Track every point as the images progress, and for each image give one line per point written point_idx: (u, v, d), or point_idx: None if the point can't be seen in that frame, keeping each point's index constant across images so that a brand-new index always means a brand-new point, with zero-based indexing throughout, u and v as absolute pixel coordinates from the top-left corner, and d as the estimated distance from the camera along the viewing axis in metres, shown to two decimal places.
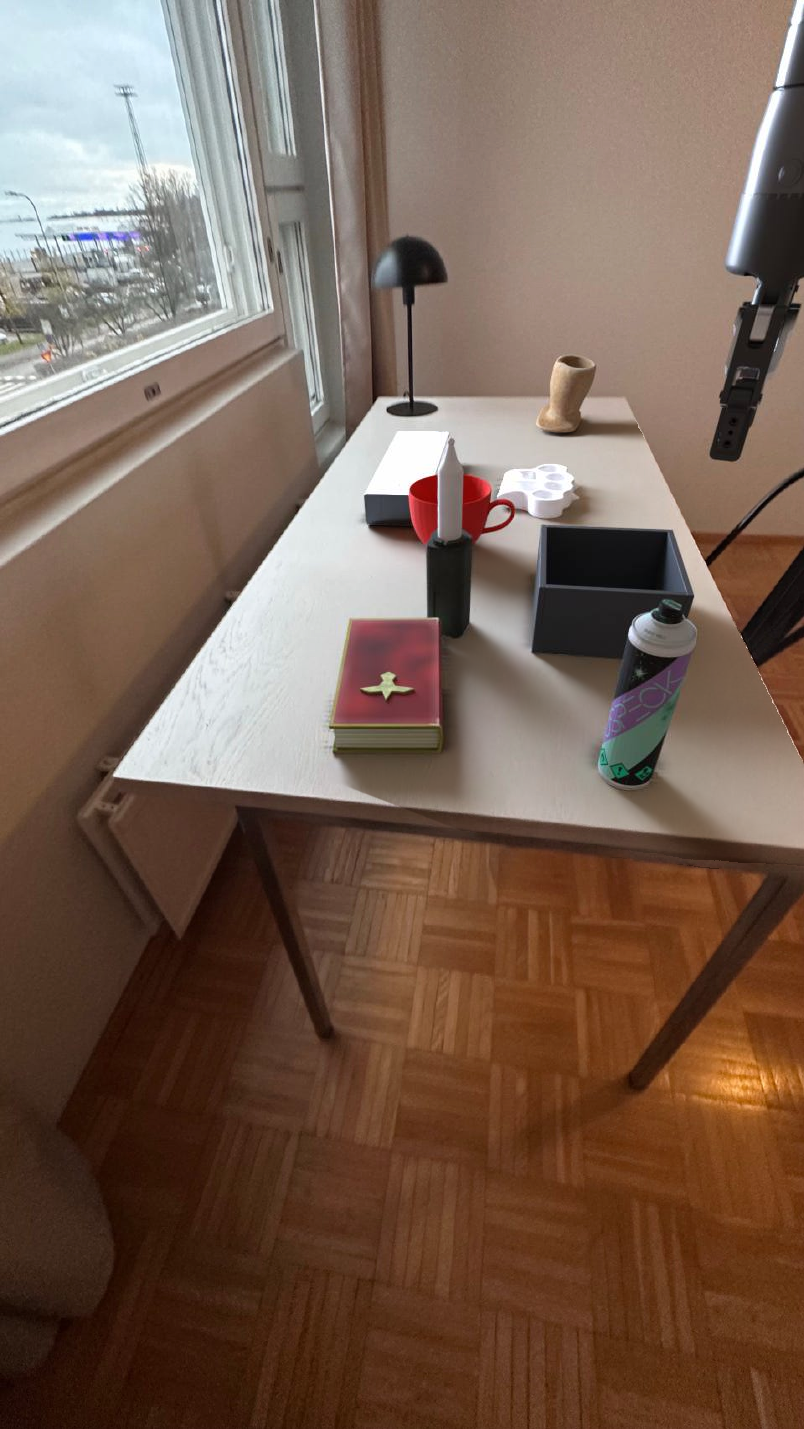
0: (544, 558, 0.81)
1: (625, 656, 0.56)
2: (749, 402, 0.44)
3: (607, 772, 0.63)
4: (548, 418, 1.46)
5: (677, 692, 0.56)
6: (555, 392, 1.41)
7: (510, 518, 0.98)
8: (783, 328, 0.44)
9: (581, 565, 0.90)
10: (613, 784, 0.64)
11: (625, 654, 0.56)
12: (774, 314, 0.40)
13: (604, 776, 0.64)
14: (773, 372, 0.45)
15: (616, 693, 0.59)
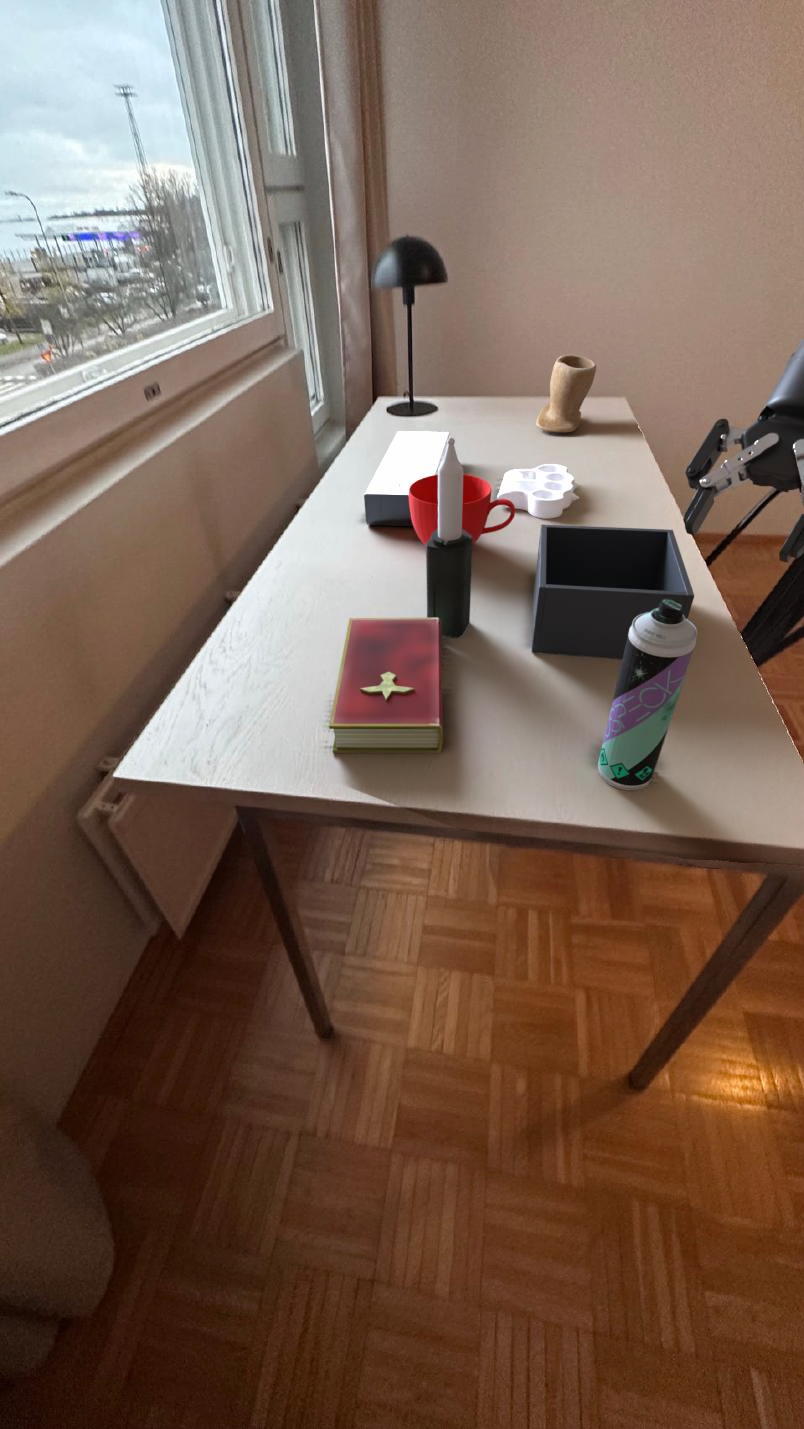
0: (544, 558, 0.81)
1: (625, 656, 0.56)
2: None
3: (607, 772, 0.63)
4: (548, 418, 1.46)
5: (677, 692, 0.56)
6: (555, 392, 1.41)
7: (510, 518, 0.98)
8: None
9: (581, 565, 0.90)
10: (613, 784, 0.64)
11: (625, 654, 0.56)
12: None
13: (604, 776, 0.64)
14: None
15: (616, 693, 0.59)
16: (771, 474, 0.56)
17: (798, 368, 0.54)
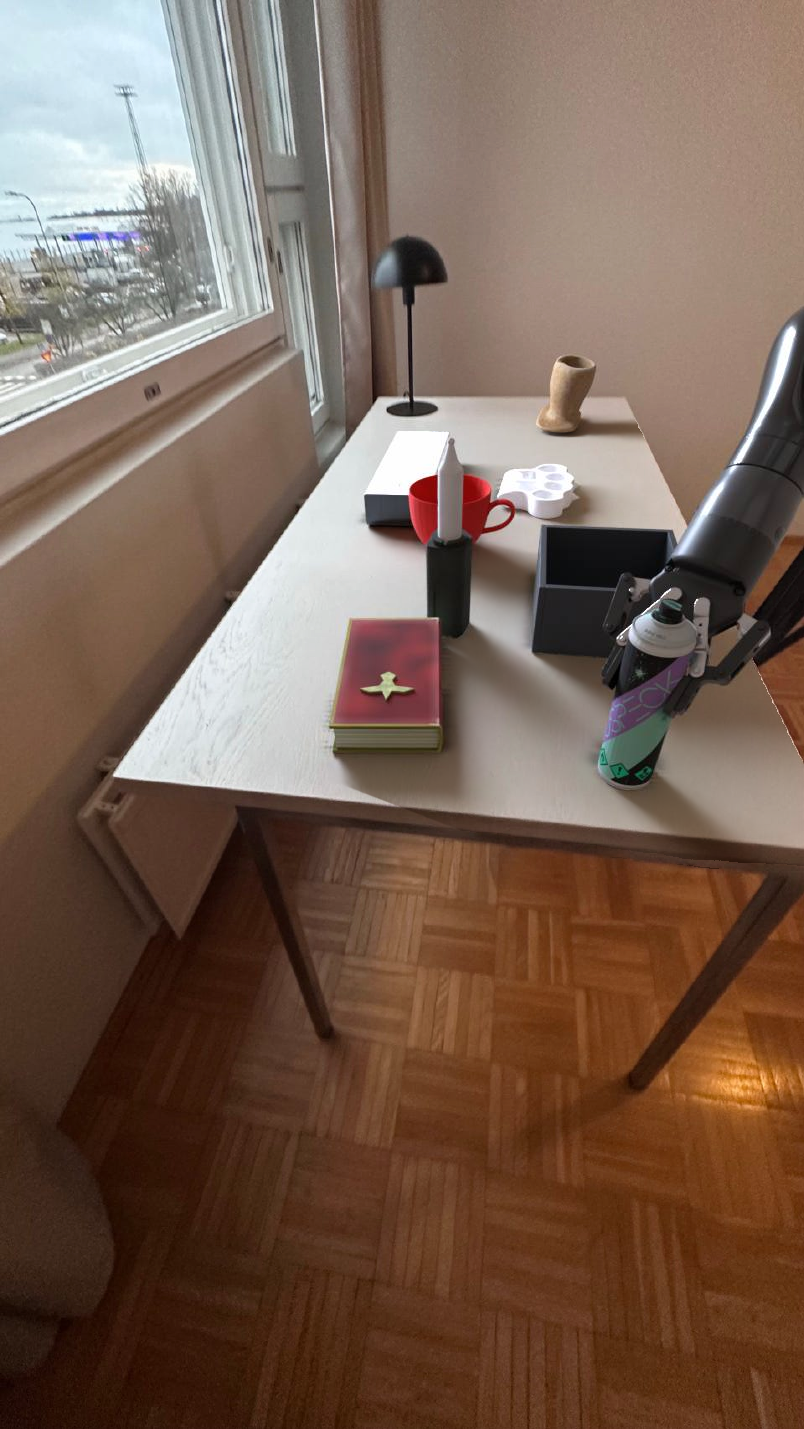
0: (544, 558, 0.81)
1: (625, 656, 0.56)
2: (727, 682, 0.54)
3: (607, 772, 0.63)
4: (548, 418, 1.46)
5: None
6: (555, 392, 1.41)
7: (510, 518, 0.98)
8: None
9: (581, 565, 0.90)
10: (613, 784, 0.64)
11: (625, 654, 0.56)
12: (769, 635, 0.53)
13: (604, 776, 0.64)
14: None
15: (616, 693, 0.59)
16: None
17: (699, 527, 0.54)
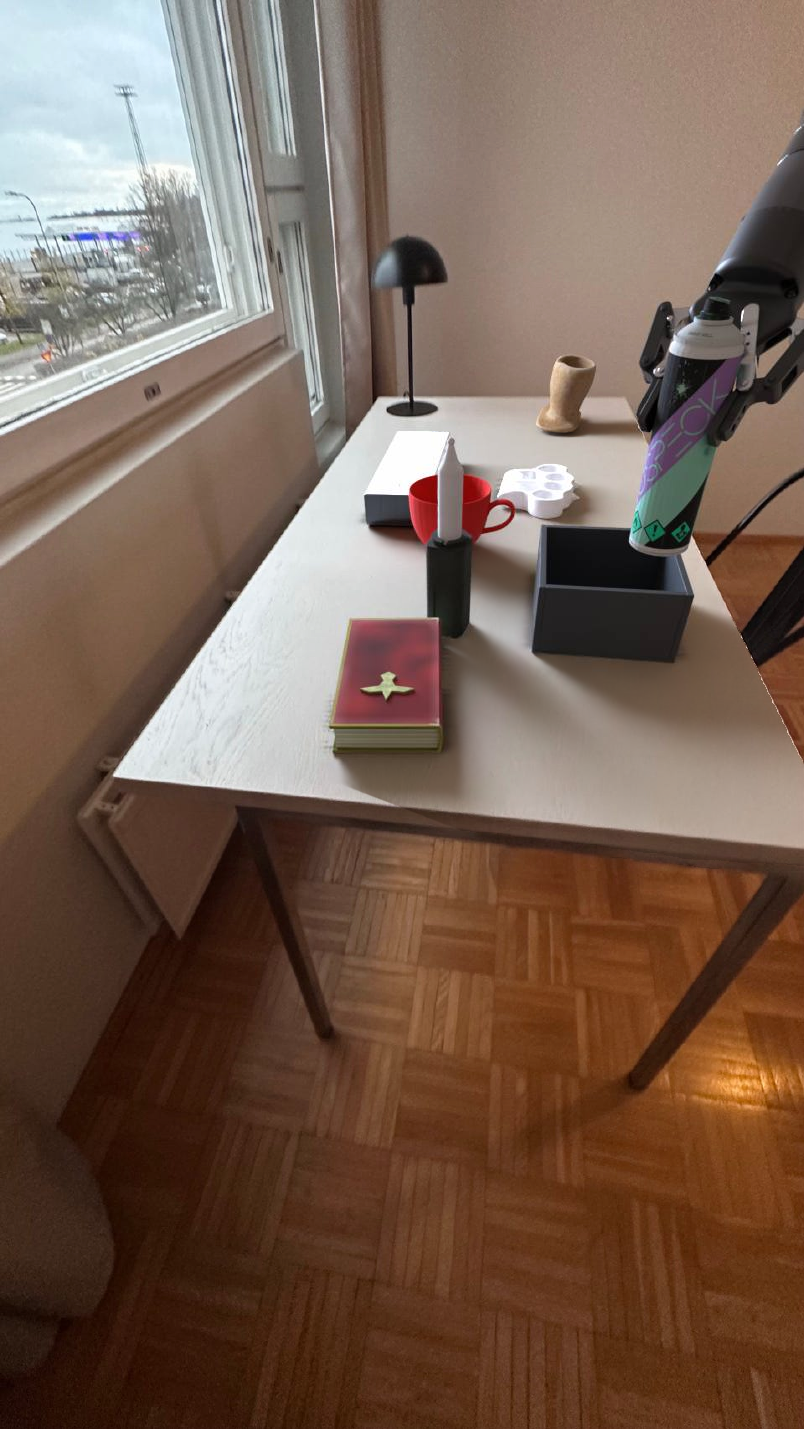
0: (544, 558, 0.81)
1: (665, 377, 0.51)
2: (777, 397, 0.50)
3: (641, 537, 0.59)
4: (548, 418, 1.46)
5: None
6: (555, 392, 1.41)
7: (510, 518, 0.98)
8: None
9: (581, 565, 0.90)
10: (647, 551, 0.59)
11: (665, 375, 0.51)
12: None
13: (637, 544, 0.60)
14: None
15: (653, 431, 0.54)
16: None
17: (747, 226, 0.50)
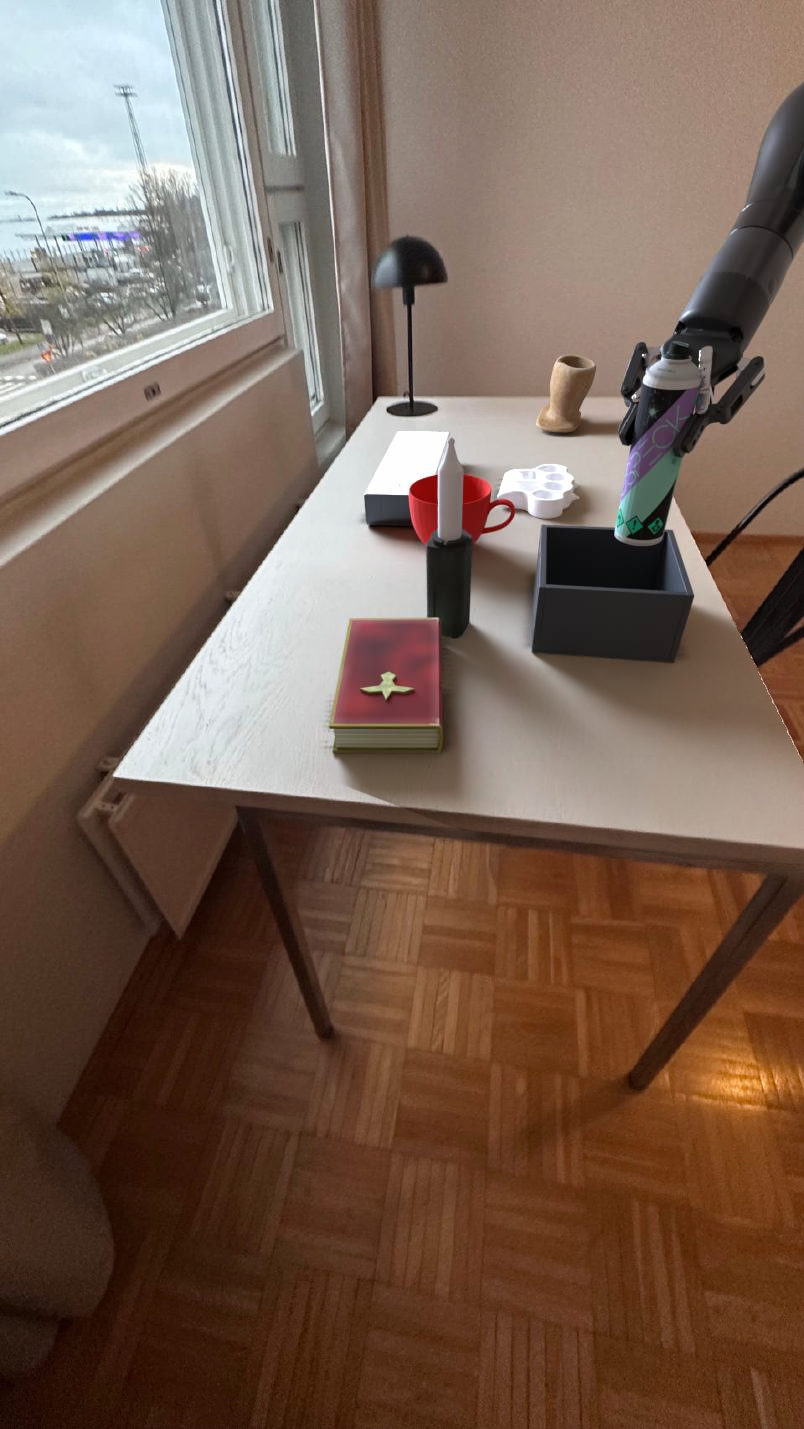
0: (544, 558, 0.81)
1: (640, 402, 0.65)
2: (728, 419, 0.63)
3: (623, 530, 0.72)
4: (548, 418, 1.46)
5: None
6: (555, 392, 1.41)
7: (510, 518, 0.98)
8: None
9: (581, 565, 0.90)
10: (629, 542, 0.73)
11: (640, 401, 0.65)
12: (764, 374, 0.62)
13: (620, 536, 0.73)
14: None
15: (632, 445, 0.68)
16: None
17: (703, 285, 0.63)
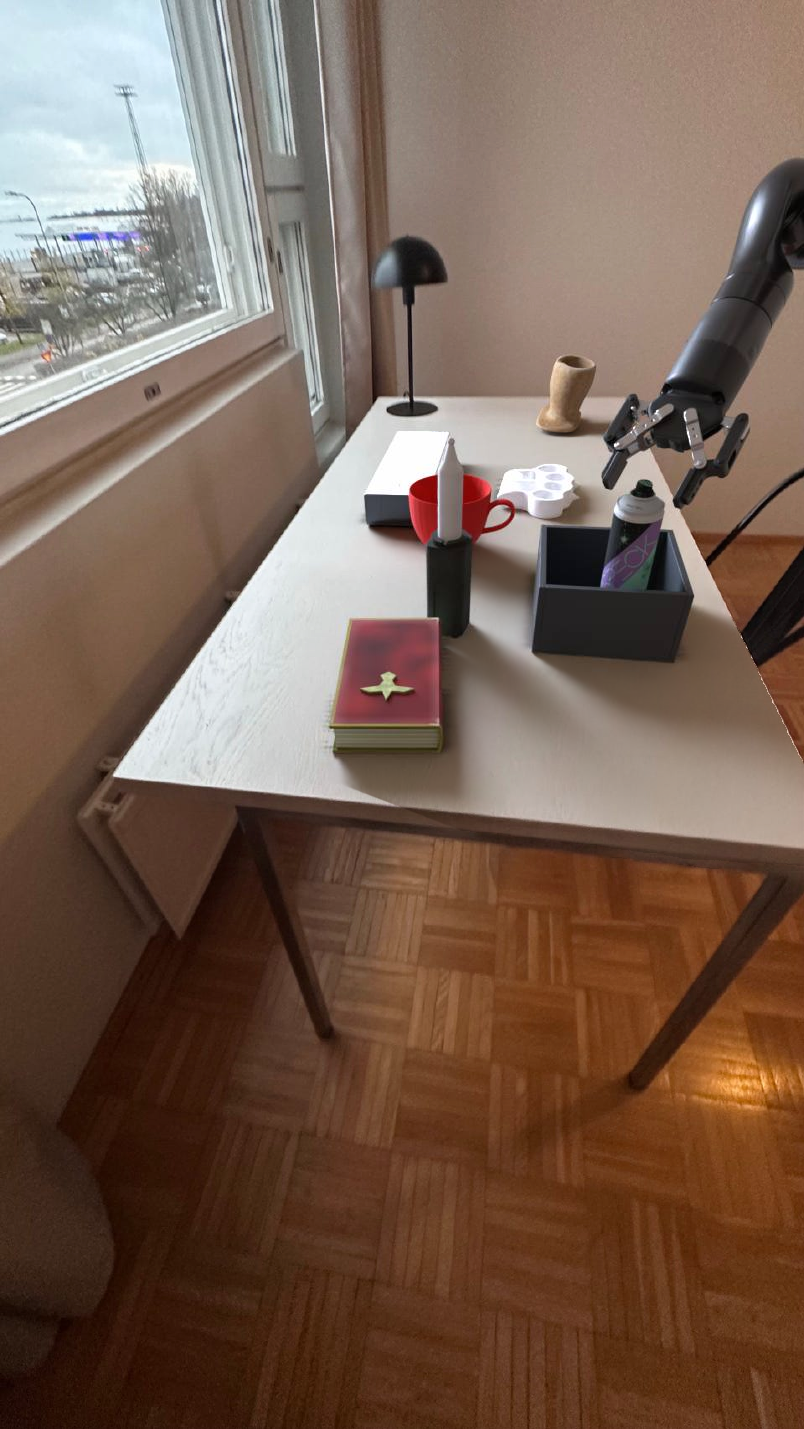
0: (544, 558, 0.81)
1: (612, 529, 0.74)
2: (725, 473, 0.66)
3: None
4: (548, 418, 1.46)
5: (652, 554, 0.74)
6: (555, 392, 1.41)
7: (510, 518, 0.98)
8: None
9: (581, 565, 0.90)
10: None
11: (612, 527, 0.74)
12: (749, 428, 0.66)
13: None
14: None
15: (606, 561, 0.77)
16: (668, 437, 0.69)
17: (688, 351, 0.67)
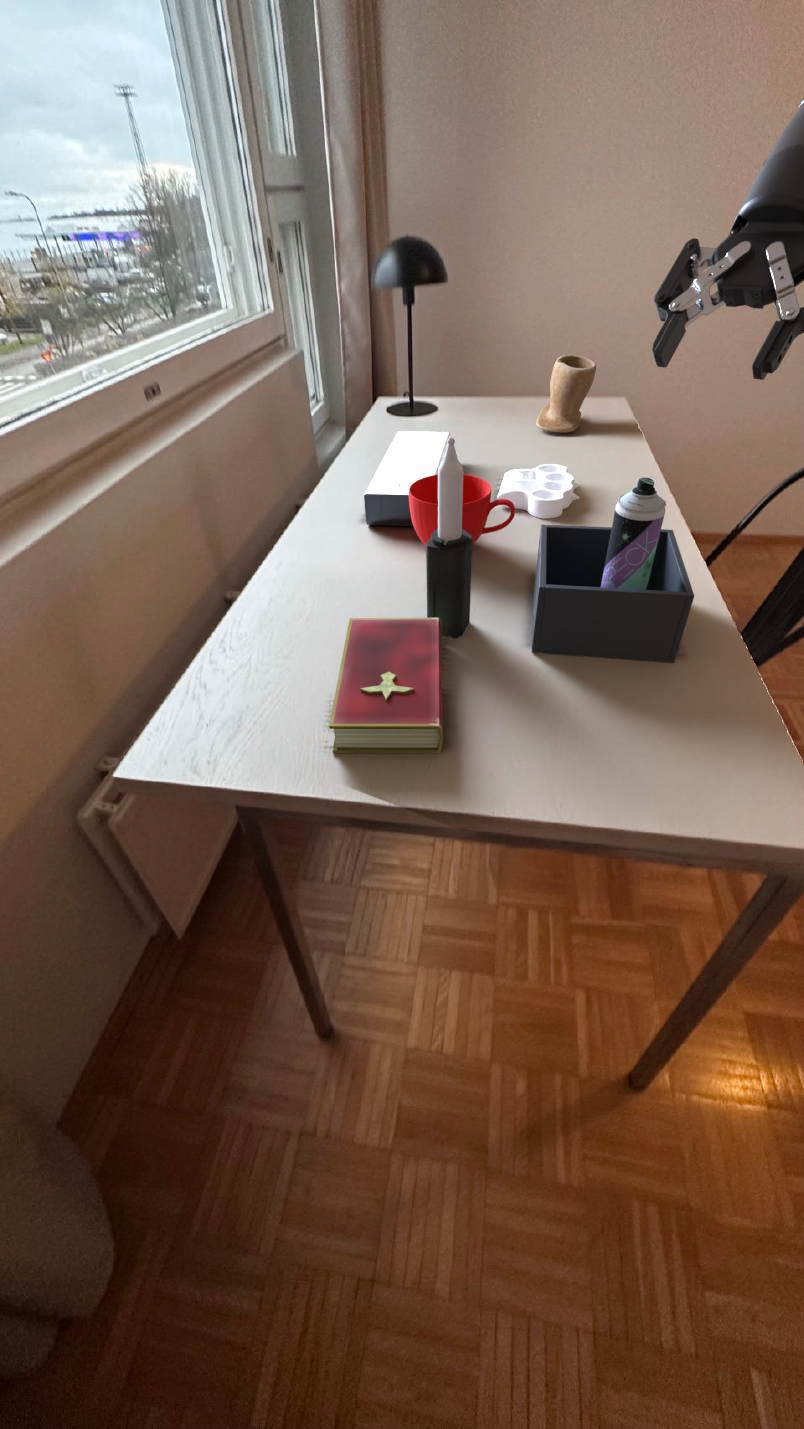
0: (544, 558, 0.81)
1: (613, 527, 0.74)
2: None
3: None
4: (548, 418, 1.46)
5: (653, 552, 0.74)
6: (555, 392, 1.41)
7: (510, 518, 0.98)
8: None
9: (581, 565, 0.90)
10: None
11: (613, 525, 0.74)
12: None
13: None
14: None
15: (607, 560, 0.77)
16: (743, 287, 0.52)
17: (770, 166, 0.50)
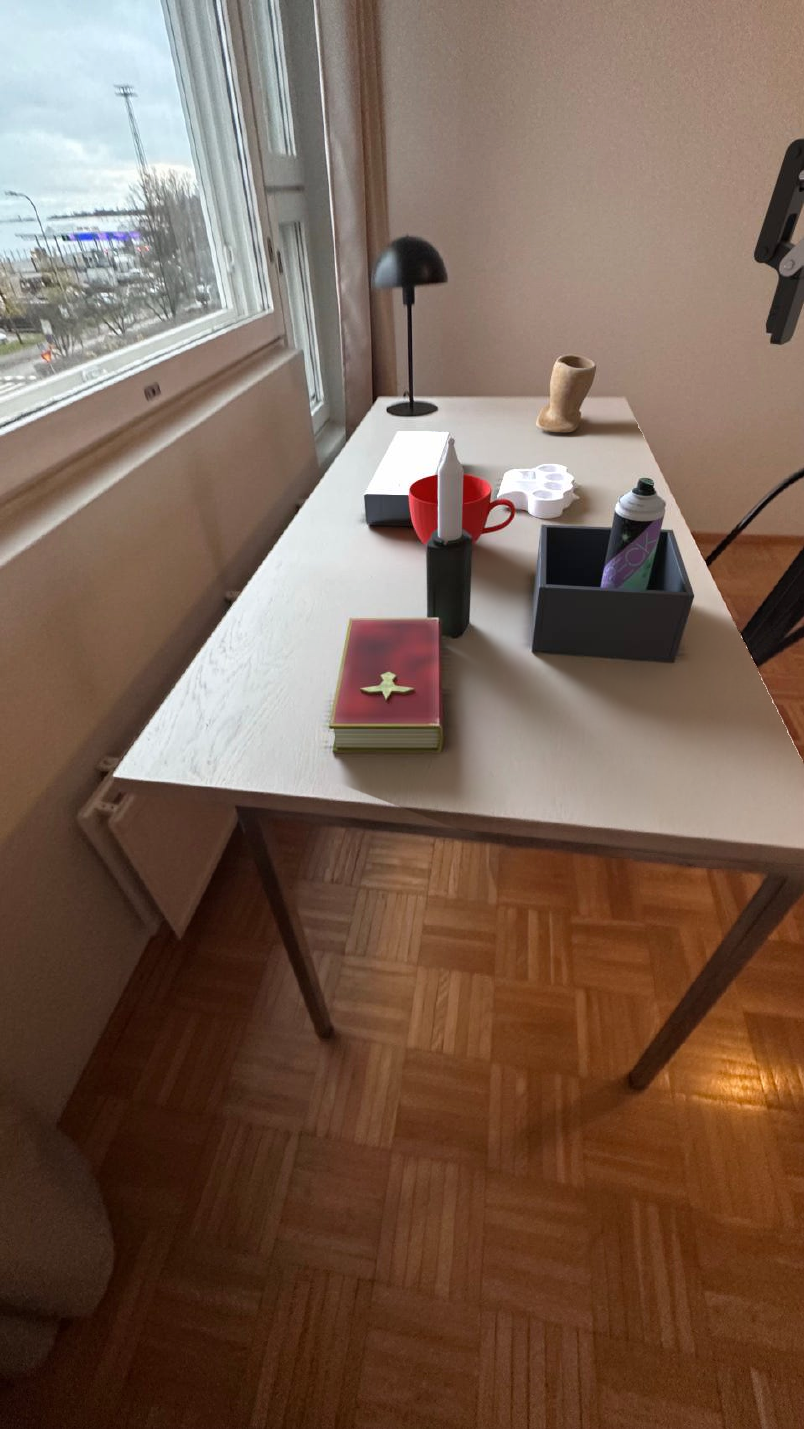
0: (544, 558, 0.81)
1: (613, 527, 0.74)
2: None
3: None
4: (548, 418, 1.46)
5: (653, 553, 0.74)
6: (555, 392, 1.41)
7: (510, 518, 0.98)
8: None
9: (581, 565, 0.90)
10: None
11: (613, 525, 0.74)
12: None
13: None
14: None
15: (607, 560, 0.77)
16: None
17: None
